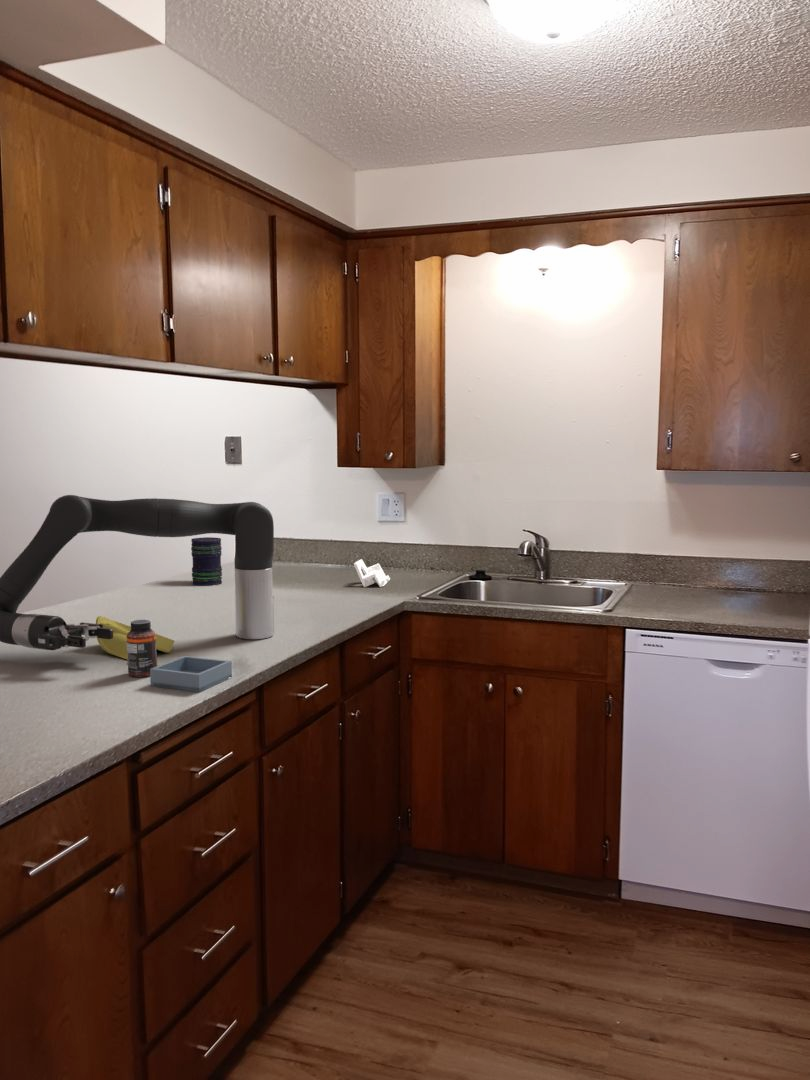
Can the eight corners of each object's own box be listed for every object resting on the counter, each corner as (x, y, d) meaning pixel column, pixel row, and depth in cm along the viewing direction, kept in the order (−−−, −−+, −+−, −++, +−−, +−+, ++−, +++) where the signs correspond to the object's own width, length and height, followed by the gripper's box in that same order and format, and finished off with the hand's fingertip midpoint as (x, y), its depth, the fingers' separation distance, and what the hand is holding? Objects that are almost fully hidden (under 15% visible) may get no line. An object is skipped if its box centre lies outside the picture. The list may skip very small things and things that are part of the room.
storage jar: (186, 585, 300) (185, 540, 298) (199, 580, 310) (198, 537, 308) (214, 586, 298) (213, 541, 296) (227, 581, 308) (226, 537, 306)
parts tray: (184, 671, 193) (184, 655, 193) (231, 677, 189) (231, 661, 189) (150, 686, 183) (150, 668, 182) (199, 692, 178) (199, 674, 178)
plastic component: (179, 642, 211) (147, 630, 203) (167, 672, 209) (135, 662, 201) (125, 624, 222) (93, 613, 214) (113, 653, 221) (81, 643, 213)
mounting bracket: (374, 587, 310) (362, 558, 309) (391, 580, 308) (378, 551, 308) (366, 593, 298) (353, 563, 298) (383, 586, 297) (370, 556, 296)
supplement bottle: (148, 668, 196) (146, 617, 194) (162, 674, 192) (161, 621, 190) (122, 674, 192) (120, 621, 190) (136, 679, 187) (134, 625, 186)
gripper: (13, 620, 194) (74, 627, 188) (62, 609, 207) (120, 614, 201) (15, 655, 195) (75, 663, 189) (63, 641, 208) (121, 648, 202)
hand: (98, 638), depth 195 cm, fingers open, 8 cm apart
